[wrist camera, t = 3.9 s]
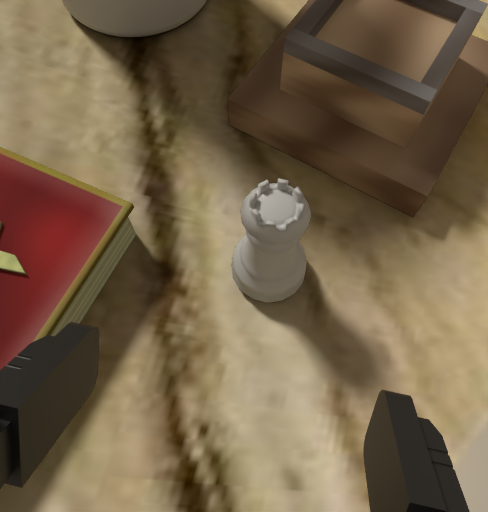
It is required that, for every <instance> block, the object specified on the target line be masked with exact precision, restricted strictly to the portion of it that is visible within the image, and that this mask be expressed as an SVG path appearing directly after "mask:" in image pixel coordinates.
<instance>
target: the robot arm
mask: <svg viewBox="0 0 488 512" xmlns="http://www.w3.org/2000/svg"><path fill="white" fill-rule="evenodd" d="M98 352H99V330H98V328H97V327H93V326H88V325H84V324H79V323H74V322H70V323H68V324H67V325H66V326H65V327H64V328H63V329H62V330H61V331H60V332H59V333H58V334H57V335H56V336H50V335H47V336H45V337H43V338H40V339H38V340H36V341H34V342H32V343H30V344H29V345H28V346H27V347H25V348H24V349H23V350H22V351H21V352H20V353H19V354H18V356H17V357H14V358H13V359H12V360H11V361H10V362H9V363H8V364H7V366H4V367H3V368H2V369H1V370H0V489H1V487H2V486H3V485H4V484H5V483H6V484H10V485H14V486H18V487H21V488H22V487H23V485H24V484H25V482H26V481H27V480H28V478H29V477H30V476H31V474H32V473H33V472H34V470H35V469H36V468H37V466H38V465H39V463H40V462H41V461H42V459H43V458H44V457H45V455H46V454H47V453H48V451H49V450H50V448H51V447H52V446H53V444H54V443H55V442H56V440H57V439H58V438H59V436H60V435H61V433H62V432H63V431H64V429H65V428H66V427H67V425H68V424H69V423H70V421H71V420H72V419H73V417H74V416H75V414H76V413H77V412H78V410H79V409H80V408H81V406H82V405H83V404H84V402H85V401H86V399H87V398H88V397H89V395H90V394H91V392H92V390H93V388H94V386H95V383H96V379H97V374H98ZM364 464H365V472H366V480H367V488H368V495H369V503H370V511H371V512H469V509H468V506H467V503H466V501H465V498H464V495H463V492H462V490H461V487H460V484H459V481H458V479H457V476H456V473H455V470H454V469H453V465H452V462H451V459H450V456H449V455H448V451H447V448H446V445H445V443H444V440H443V437H442V435H441V434H440V433H439V431H438V430H437V429H436V428H435V427H434V425H433V424H432V423H431V422H430V420H429V419H424V418H419V417H418V416H417V413H416V410H415V407H414V403H413V400H412V398H411V396H409V395H404V394H399V393H395V392H390V391H385V390H381V391H380V393H379V395H378V398H377V401H376V404H375V407H374V410H373V413H372V417H371V420H370V423H369V426H368V429H367V432H366V436H365V441H364Z"/></svg>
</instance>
